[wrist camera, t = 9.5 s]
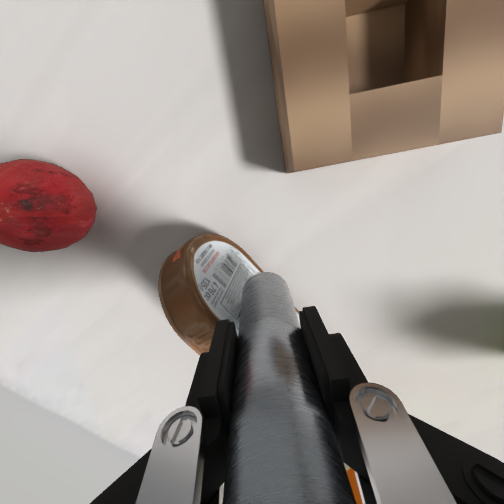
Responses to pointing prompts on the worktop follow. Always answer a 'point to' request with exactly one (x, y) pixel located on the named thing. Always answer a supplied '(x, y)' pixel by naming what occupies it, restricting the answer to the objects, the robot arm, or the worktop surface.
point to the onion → (42, 206)
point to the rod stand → (383, 75)
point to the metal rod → (279, 410)
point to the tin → (204, 287)
